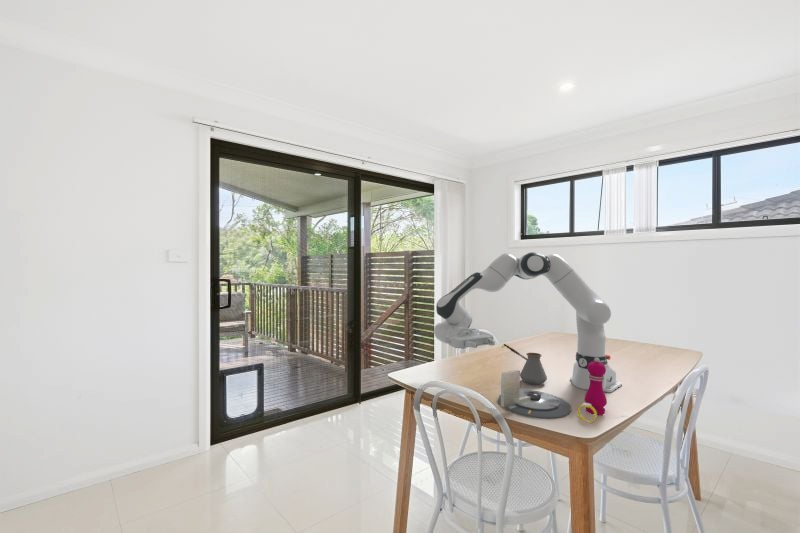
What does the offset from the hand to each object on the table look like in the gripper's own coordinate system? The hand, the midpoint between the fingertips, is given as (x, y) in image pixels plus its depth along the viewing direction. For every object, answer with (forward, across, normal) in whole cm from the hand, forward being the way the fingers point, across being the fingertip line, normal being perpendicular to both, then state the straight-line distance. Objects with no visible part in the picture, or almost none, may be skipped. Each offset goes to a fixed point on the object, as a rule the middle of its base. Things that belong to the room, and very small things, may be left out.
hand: (484, 344), depth 151 cm
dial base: (+14, +12, +21) cm, 28 cm away
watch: (+33, +16, +21) cm, 43 cm away
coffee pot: (-8, +32, +21) cm, 39 cm away
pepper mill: (+30, +26, +21) cm, 45 cm away
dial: (+14, +8, +20) cm, 26 cm away
